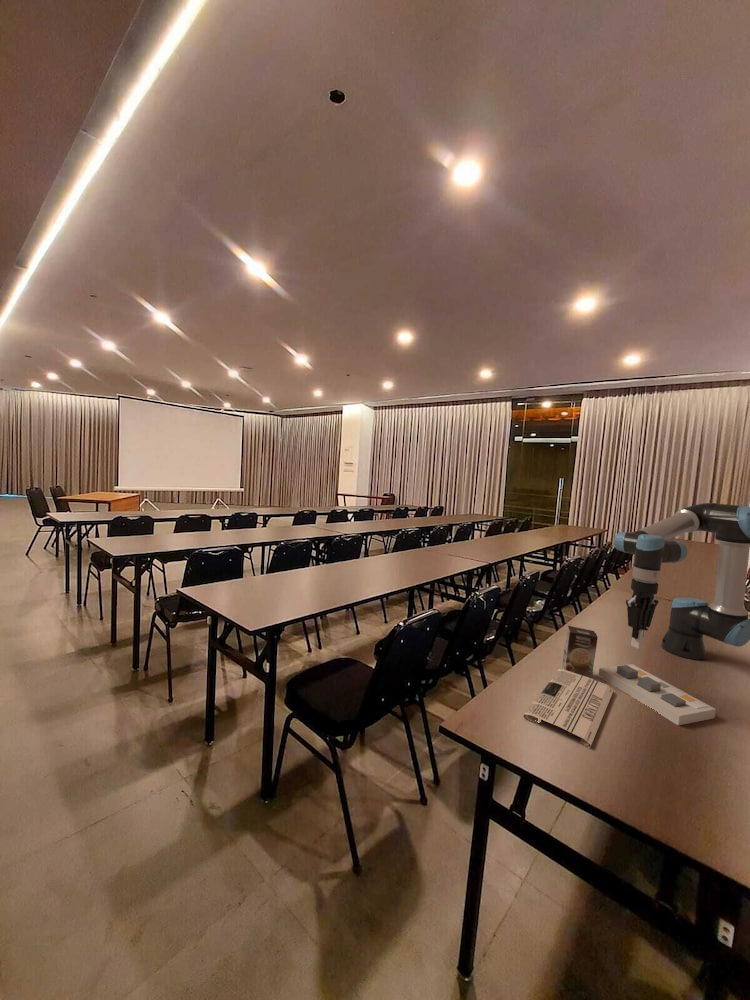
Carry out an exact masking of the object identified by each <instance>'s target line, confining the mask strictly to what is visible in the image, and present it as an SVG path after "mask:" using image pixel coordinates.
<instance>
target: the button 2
mask: <svg viewBox="0 0 750 1000" xmlns="http://www.w3.org/2000/svg"><path fill="white" fill-rule="evenodd" d="M661 699H662V700H664V701H666V702H667V703H669V704H671V705H673V706H674V707H681V706H685V704H686V701H685V700H683V699H681V698H679V697H678V696H676V695H674V694H672V693H669V694H663V695H662V697H661Z"/></svg>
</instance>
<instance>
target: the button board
mask: <svg viewBox="0 0 750 1000" xmlns="http://www.w3.org/2000/svg"><path fill="white" fill-rule="evenodd" d="M623 665H624V664H621V665H614V666H606V667H605V666H603V667H599V669H598V677H599V678H601V679H603V680H604V681H606V682H607V683H609V684H611V686H614V687H616V688H617V689H619V690H620V691H622V692H623V693H625V694H627V695H628V696H630V697H632V698H633V699H635V700H636V699H637V700H636V701H638V702H639V701H640V702H639V703H641V704H642V705H644V704H645V706H646V705H647V706H646V707H648V706H649V707H650V709H651V708H652V709H654V710H655V711H654V710H653V711H654V712H656V711H657V712H658V713H657V712H656V713H657V714H659V715H660V714H661V715H660V716H662V717H664V718H665V719H667V720H669V721H670V722H672V723H673V724H675V725H676V726H682V725H688V724H692V723H697V722H702V721H707V720H713V719H715V718H716V711H717V709H716V708H715V707H713V706H711V705H709V704H708V703H705V702H704V701H702V700H701V699H699V698H696V697H694V696H692V695H691V694H688V693H687V692H685V691H683V690H681V689H680V688H679V687H676V686H674V685H672V684H670V683H668V682H667V681H665V680H664V679H661V678H659V677H658V676H655V674H654V675H653V674H652V673H650V672H648V671H646V670H644V669H642V668H641V667H639V666H637V665H635V664H633V663H630V664H628V663H627V664H626V665H628V666H629V667H631V668H633V669H635V670H637V671H638V676H637V678H635V679H626V678H625V677H623V676H621V675H619V674H618V673H617V666H623ZM643 677H649V678H651V679H653V680H655V681H657V682H659V683H660V684H661V687H660V691H658V692H651V693H650V692H649V691H647V690H645V689H643V688H642V687H640V686H638V679H639V678H643ZM669 693H672V694H674V695H676V696H678V697H679V698H681V699H683V700H685V701H686V704H685V706H681V707H674V706H673V705H671V704H669V703H667V702H666V701H664V700H662V699H661V697H662V695H663V694H669ZM649 707H648V708H649ZM652 709H651V710H652Z"/></svg>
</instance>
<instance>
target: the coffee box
mask: <svg viewBox="0 0 750 1000" xmlns="http://www.w3.org/2000/svg"><path fill="white" fill-rule="evenodd" d="M598 638H599V637H598V634H597V633H596V632H595V631H594V630H590V629H585V628H581V627H577V626H572V625H567V630H566V636H565V642H564V649H563V651H564V652H563V657H562V665H561V668H562V669H564V670H567V671H570V672H573V673H576V674H579V675H583V676H586V677H589V678H591V679H593V671H594V666H595V658H596V651H597V645H598Z"/></svg>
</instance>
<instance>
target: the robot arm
mask: <svg viewBox="0 0 750 1000" xmlns="http://www.w3.org/2000/svg"><path fill="white" fill-rule="evenodd" d="M697 531H700V532H708V533H714V534H715V536H714V539H715V541H716V542H718V543H719V550H718V558H717V560H718V561H717V572H716V582H715V593H714V601H713V602H711V603H710V604H709V602H708V601H707V600H704V599H701V598H693V597H684V596H682V597H680V596H679V597H675V598H673V600H672V603H671V606H670V607H671V610H670V615H669V622H668V623H669V624H668V629H667V630H666V633H665V635H664V636H663V638H662V639H661V642H660V643H661V644H660V647H661V648H662V649H663V650H664V651H667V652H668V653H670V654H673V655H675V656H677V657H680V658H681V657H682V658H684V659H685V658H686V659H689V660H698V661H699V660H705V659H706V655H707V654H706V653H707V651H706V648H705V643H704V639H703V638H704V637H703V636H706V637H708V638H710V639H714V640H717V641H720V642H722V643H724V644H726V645H730V646H734V647H743V646H745V645H746V644H747V643H748V642H749V641H750V618H749V611H748V610H747V609H746V608H745V606H744V605H745V596H746V588H747V578H748V577H747V576H748V570H749V569H748V568H749V560H750V559H749V558H750V506H745V505H735V504H727V503H726V504H724V503H715V502H705V503H699V504H695V505H691V506H690V505H689V506H687V507H683V508H681V509H679V510H677V511H676V512H674V515H672V516H669V517H666V518H664V519H662V520H659V521H656V522H654V523H652V524H650V525H648V526H645V527H643V528H640V529H638V530H636V531H633V532H628V531H619V532H618V533H616V534H615V536H614V538H613V546H614V548H615V549H616V550H617V551H620V552H623V553H625V554H631V555H634V563H633V568H632V573H631V574H632V579H631V583H630V588H631V591H632V592H633V593H632V595H631V599H630V600H629V599H626V600H625V604H626V609H627V624H628V625H627V626H628V627H630V628H632V632H631V642H630V646H631V647H633V648H636V649H638V650H641V649H642V648H643V642H644V641H643V638H644V634H645V632H646V631H649V628H650V627H651V623H652V620H653V618H654V614H655V610H656V607H657V605H658V604H659V600H658V599H655V595H657V594H658V591H659V590H658V589H659V583H658V582H659V581H660V576H661V575H660V574H661V569H662V568H661V567H662V564H670V563H672V564H674V563H679V562H680V563H681V562H682V561H684V560H685V559H687V558H686V557H687V556H688V549H687V546H686V545H685V544H684V542H682V541H680V540H679V541H678V540H672V539H673V538H675V537H678V536H680V535H682V534H684V533H693V532H697Z"/></svg>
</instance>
